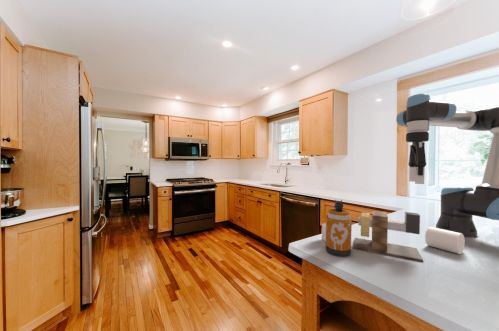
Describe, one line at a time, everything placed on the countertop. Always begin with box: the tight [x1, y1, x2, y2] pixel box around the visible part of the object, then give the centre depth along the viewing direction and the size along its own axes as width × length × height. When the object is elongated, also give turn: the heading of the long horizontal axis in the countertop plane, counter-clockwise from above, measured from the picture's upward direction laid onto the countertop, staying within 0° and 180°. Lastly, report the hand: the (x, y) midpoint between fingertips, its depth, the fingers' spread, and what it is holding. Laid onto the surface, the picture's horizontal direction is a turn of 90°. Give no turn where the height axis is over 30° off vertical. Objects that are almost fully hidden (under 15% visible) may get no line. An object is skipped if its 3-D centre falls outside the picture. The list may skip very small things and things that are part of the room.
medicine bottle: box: [321, 213, 328, 242], centre depth 92 cm, size 7×7×12 cm
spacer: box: [360, 212, 371, 238], centre depth 87 cm, size 3×8×8 cm, turn 150°
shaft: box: [357, 211, 421, 235], centre depth 84 cm, size 20×4×7 cm, turn 60°
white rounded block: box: [424, 226, 466, 255], centre depth 86 cm, size 12×10×8 cm
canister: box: [325, 199, 353, 257], centre depth 81 cm, size 9×11×20 cm
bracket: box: [352, 210, 424, 262], centre depth 84 cm, size 22×12×14 cm, turn 60°
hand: (416, 182), depth 88 cm, fingers open, 13 cm apart
